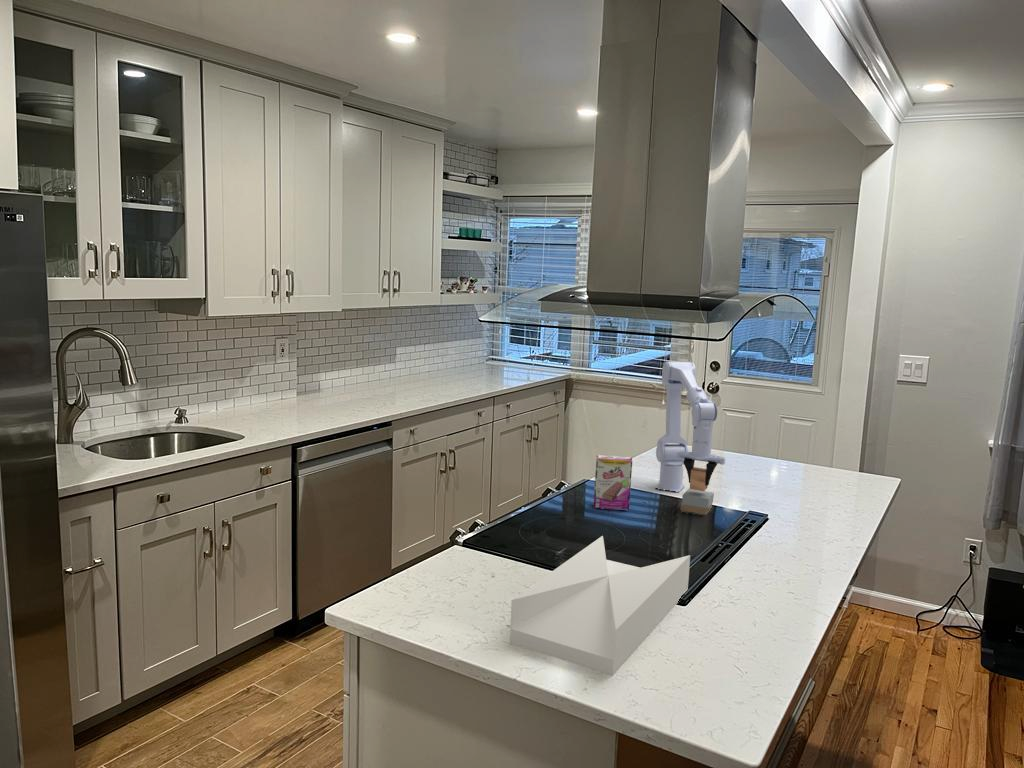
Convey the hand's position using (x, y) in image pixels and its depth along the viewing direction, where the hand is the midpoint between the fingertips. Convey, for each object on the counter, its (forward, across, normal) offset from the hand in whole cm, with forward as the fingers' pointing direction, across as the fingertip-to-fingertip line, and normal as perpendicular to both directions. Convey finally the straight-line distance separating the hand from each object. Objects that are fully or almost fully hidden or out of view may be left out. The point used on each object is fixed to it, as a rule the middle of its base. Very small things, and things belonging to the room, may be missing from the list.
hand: (698, 483), depth 241 cm
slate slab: (+6, 0, 0) cm, 6 cm away
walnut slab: (+9, 0, 0) cm, 9 cm away
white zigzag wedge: (+10, 0, -84) cm, 85 cm away
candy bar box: (+9, -24, -12) cm, 28 cm away
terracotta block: (+2, 0, 0) cm, 2 cm away
